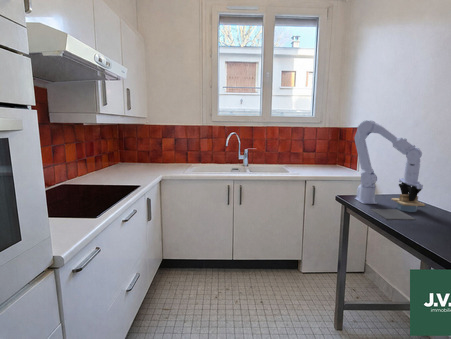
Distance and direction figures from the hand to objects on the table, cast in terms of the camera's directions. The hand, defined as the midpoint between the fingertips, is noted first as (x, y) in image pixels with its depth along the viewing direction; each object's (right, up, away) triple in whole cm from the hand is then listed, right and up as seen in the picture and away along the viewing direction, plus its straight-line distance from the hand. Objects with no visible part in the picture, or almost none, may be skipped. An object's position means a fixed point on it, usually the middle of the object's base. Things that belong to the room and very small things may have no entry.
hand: (407, 199), depth 132 cm
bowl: (0, -5, +1) cm, 5 cm away
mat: (-12, -6, -7) cm, 15 cm away
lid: (0, -2, 0) cm, 2 cm away
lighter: (+8, -4, +11) cm, 14 cm away
